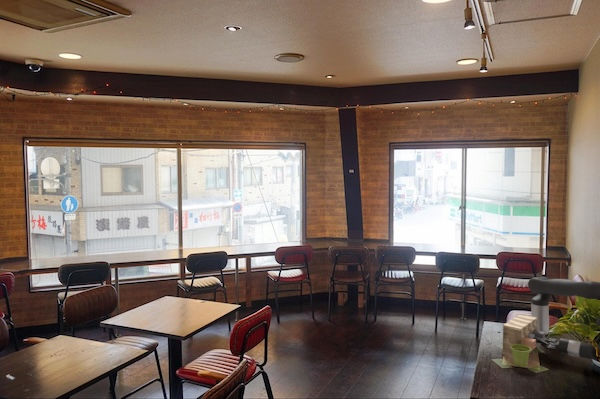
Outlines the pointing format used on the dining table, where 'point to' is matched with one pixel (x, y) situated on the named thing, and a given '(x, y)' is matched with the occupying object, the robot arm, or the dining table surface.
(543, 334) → the key charcoal
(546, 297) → the robot arm
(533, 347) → the key terracotta
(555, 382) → the dining table surface
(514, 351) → the plant pot
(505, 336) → the console
